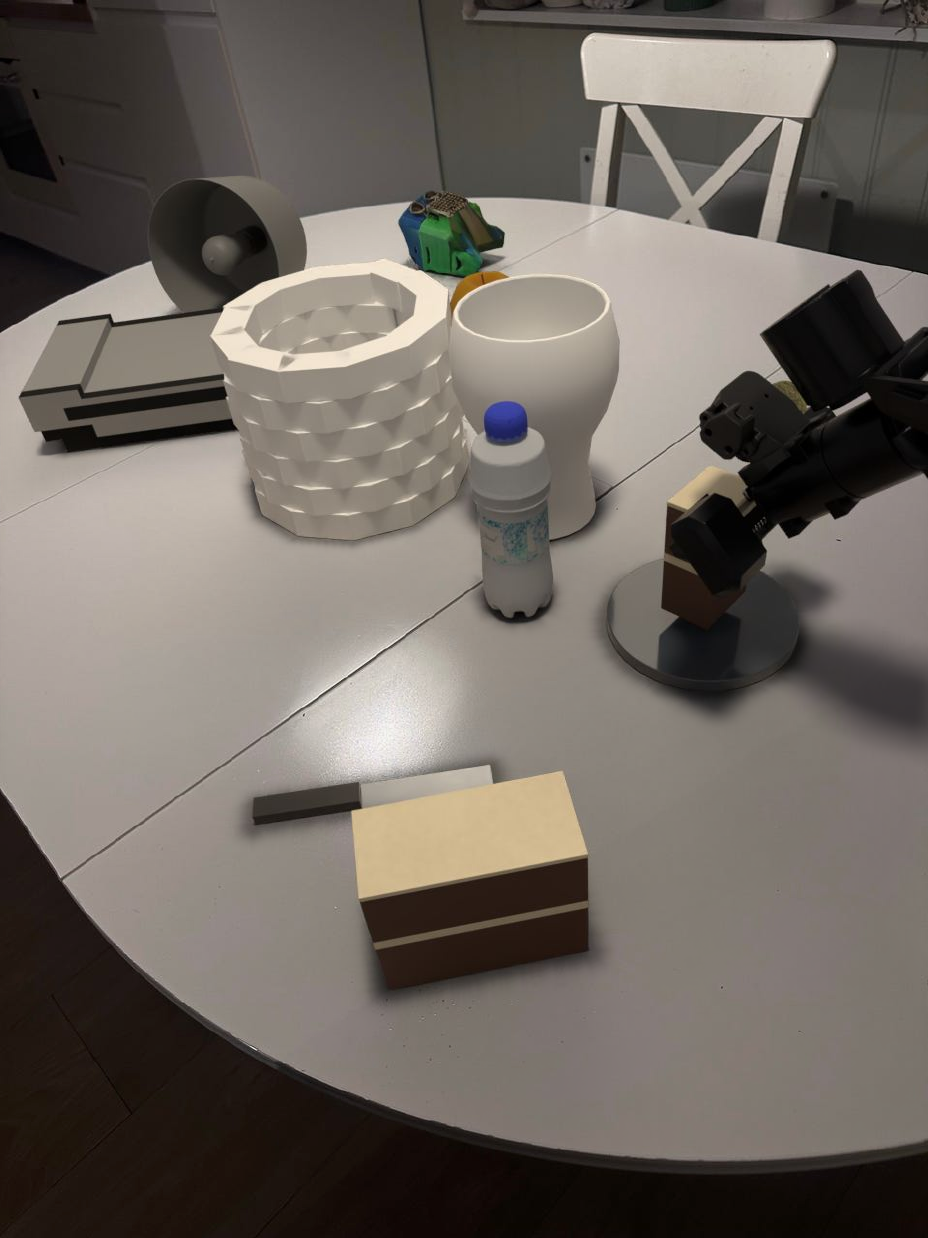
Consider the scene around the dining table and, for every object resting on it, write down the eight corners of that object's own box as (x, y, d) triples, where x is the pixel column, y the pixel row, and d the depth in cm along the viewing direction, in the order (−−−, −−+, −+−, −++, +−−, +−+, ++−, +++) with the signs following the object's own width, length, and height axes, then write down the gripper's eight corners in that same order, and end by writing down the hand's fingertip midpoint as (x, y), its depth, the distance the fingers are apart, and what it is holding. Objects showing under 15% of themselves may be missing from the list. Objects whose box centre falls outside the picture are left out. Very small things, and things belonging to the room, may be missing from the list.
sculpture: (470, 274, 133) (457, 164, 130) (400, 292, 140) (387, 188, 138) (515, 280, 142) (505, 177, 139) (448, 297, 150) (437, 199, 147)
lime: (804, 435, 99) (811, 393, 96) (757, 434, 100) (763, 392, 97) (802, 413, 103) (809, 372, 99) (756, 412, 104) (762, 372, 100)
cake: (566, 870, 63) (562, 770, 56) (588, 950, 59) (588, 854, 51) (379, 906, 63) (350, 810, 55) (388, 991, 58) (358, 899, 51)
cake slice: (745, 591, 78) (761, 483, 71) (707, 630, 75) (718, 521, 68) (699, 571, 81) (709, 465, 73) (660, 608, 78) (666, 501, 70)
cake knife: (490, 767, 70) (489, 758, 70) (494, 792, 69) (493, 784, 68) (256, 802, 70) (253, 794, 69) (255, 828, 68) (251, 820, 68)
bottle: (472, 590, 86) (449, 398, 72) (538, 569, 87) (527, 376, 74) (499, 635, 81) (480, 438, 68) (568, 612, 82) (563, 414, 69)
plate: (810, 583, 82) (813, 573, 81) (779, 711, 72) (781, 701, 71) (635, 551, 88) (635, 541, 87) (582, 665, 77) (582, 655, 77)
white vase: (631, 475, 97) (637, 273, 82) (596, 565, 87) (596, 353, 72) (494, 459, 102) (477, 266, 87) (445, 543, 91) (417, 339, 77)
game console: (309, 422, 112) (294, 359, 106) (47, 458, 111) (18, 397, 106) (313, 345, 127) (300, 287, 121) (82, 377, 127) (59, 320, 121)
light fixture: (256, 173, 117) (345, 140, 138) (96, 187, 126) (202, 153, 146) (291, 333, 129) (369, 280, 149) (142, 335, 137) (235, 285, 158)
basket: (351, 571, 90) (311, 397, 77) (212, 488, 103) (158, 328, 90) (521, 455, 102) (510, 288, 89) (377, 394, 115) (350, 242, 102)
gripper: (850, 301, 65) (701, 399, 78) (706, 417, 55) (565, 506, 69) (936, 432, 66) (774, 506, 79) (809, 568, 56) (650, 626, 70)
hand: (694, 531), depth 74 cm, fingers closed on cake slice, 6 cm apart
